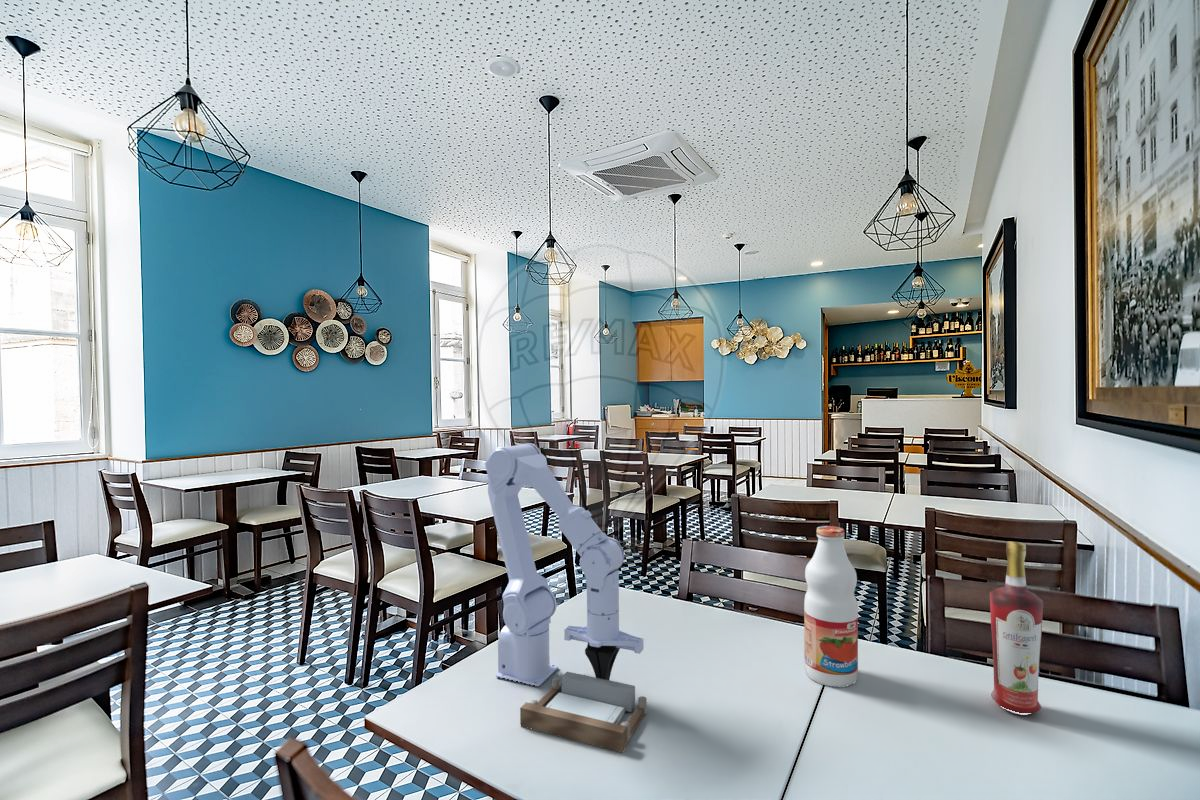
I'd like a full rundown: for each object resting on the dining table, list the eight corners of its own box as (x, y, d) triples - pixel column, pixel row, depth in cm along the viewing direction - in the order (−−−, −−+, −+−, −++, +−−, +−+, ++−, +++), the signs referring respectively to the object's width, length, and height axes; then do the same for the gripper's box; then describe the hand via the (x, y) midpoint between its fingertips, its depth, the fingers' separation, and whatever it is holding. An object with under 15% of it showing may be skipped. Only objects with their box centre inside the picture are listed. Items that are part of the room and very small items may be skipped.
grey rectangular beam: (562, 696, 101) (561, 676, 101) (567, 690, 103) (567, 671, 103) (631, 712, 96) (631, 691, 96) (635, 706, 98) (635, 685, 98)
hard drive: (536, 715, 94) (606, 732, 89) (559, 691, 101) (624, 705, 96) (536, 725, 94) (606, 743, 89) (559, 700, 101) (625, 715, 96)
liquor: (1036, 702, 98) (1036, 540, 98) (1048, 724, 92) (1049, 551, 91) (985, 693, 101) (985, 536, 101) (993, 714, 95) (994, 546, 94)
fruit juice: (830, 660, 114) (830, 520, 114) (869, 682, 106) (869, 531, 105) (793, 669, 111) (793, 525, 110) (830, 693, 102) (830, 537, 101)
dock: (520, 726, 93) (520, 707, 93) (554, 690, 104) (554, 674, 104) (622, 752, 86) (622, 732, 86) (647, 711, 97) (647, 694, 96)
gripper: (556, 611, 101) (556, 687, 101) (633, 624, 95) (634, 705, 95) (573, 597, 107) (574, 669, 107) (647, 609, 101) (647, 684, 102)
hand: (603, 685), depth 102 cm, fingers closed, pressing on grey rectangular beam
